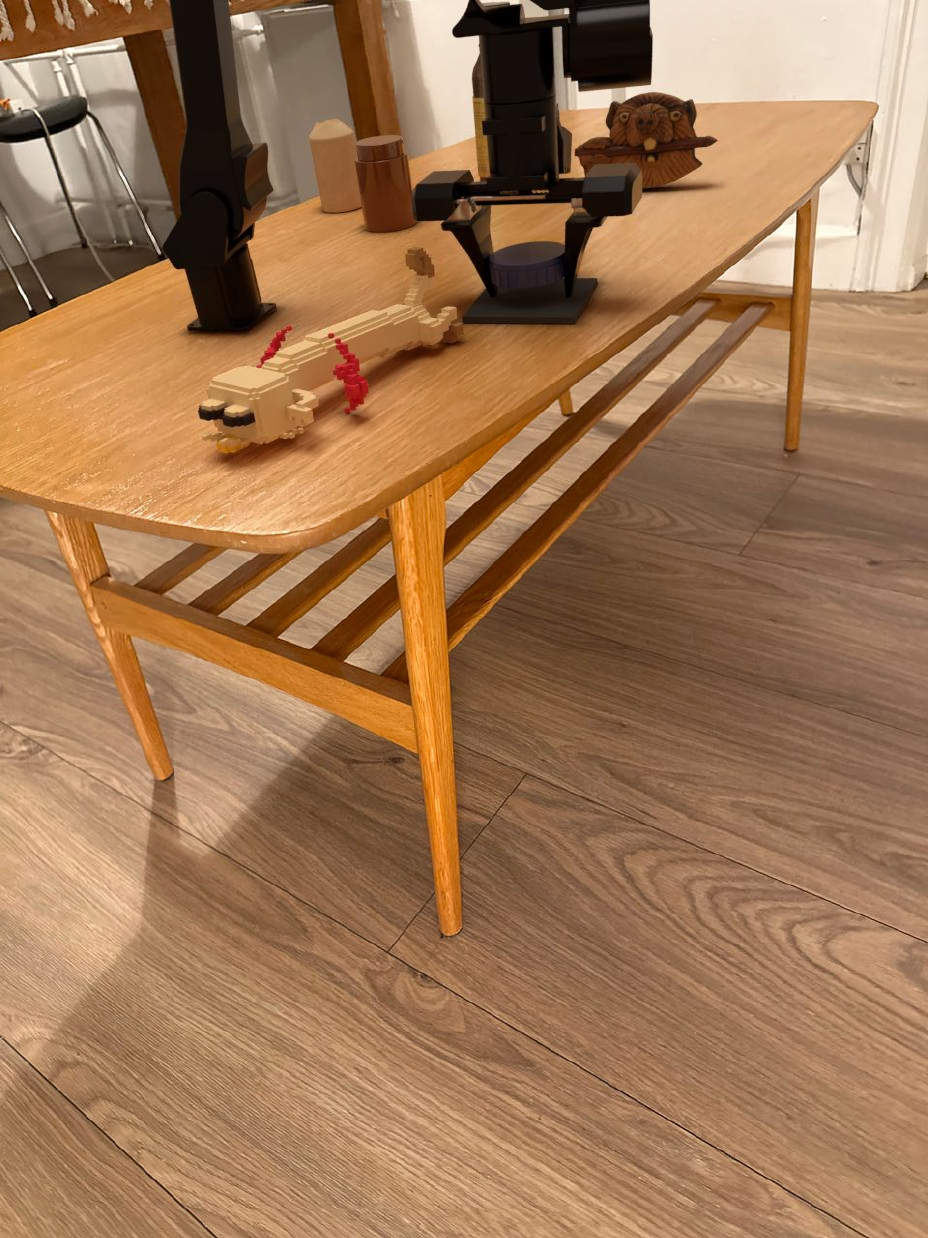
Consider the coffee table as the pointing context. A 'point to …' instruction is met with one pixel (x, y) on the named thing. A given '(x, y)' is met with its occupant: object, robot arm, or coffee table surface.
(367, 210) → the jar
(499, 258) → the lid
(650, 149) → the wooden carving
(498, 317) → the mat
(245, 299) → the robot arm
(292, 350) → the voxel animal figurine
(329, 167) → the candle
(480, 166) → the sauce bottle
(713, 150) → the coffee table surface
